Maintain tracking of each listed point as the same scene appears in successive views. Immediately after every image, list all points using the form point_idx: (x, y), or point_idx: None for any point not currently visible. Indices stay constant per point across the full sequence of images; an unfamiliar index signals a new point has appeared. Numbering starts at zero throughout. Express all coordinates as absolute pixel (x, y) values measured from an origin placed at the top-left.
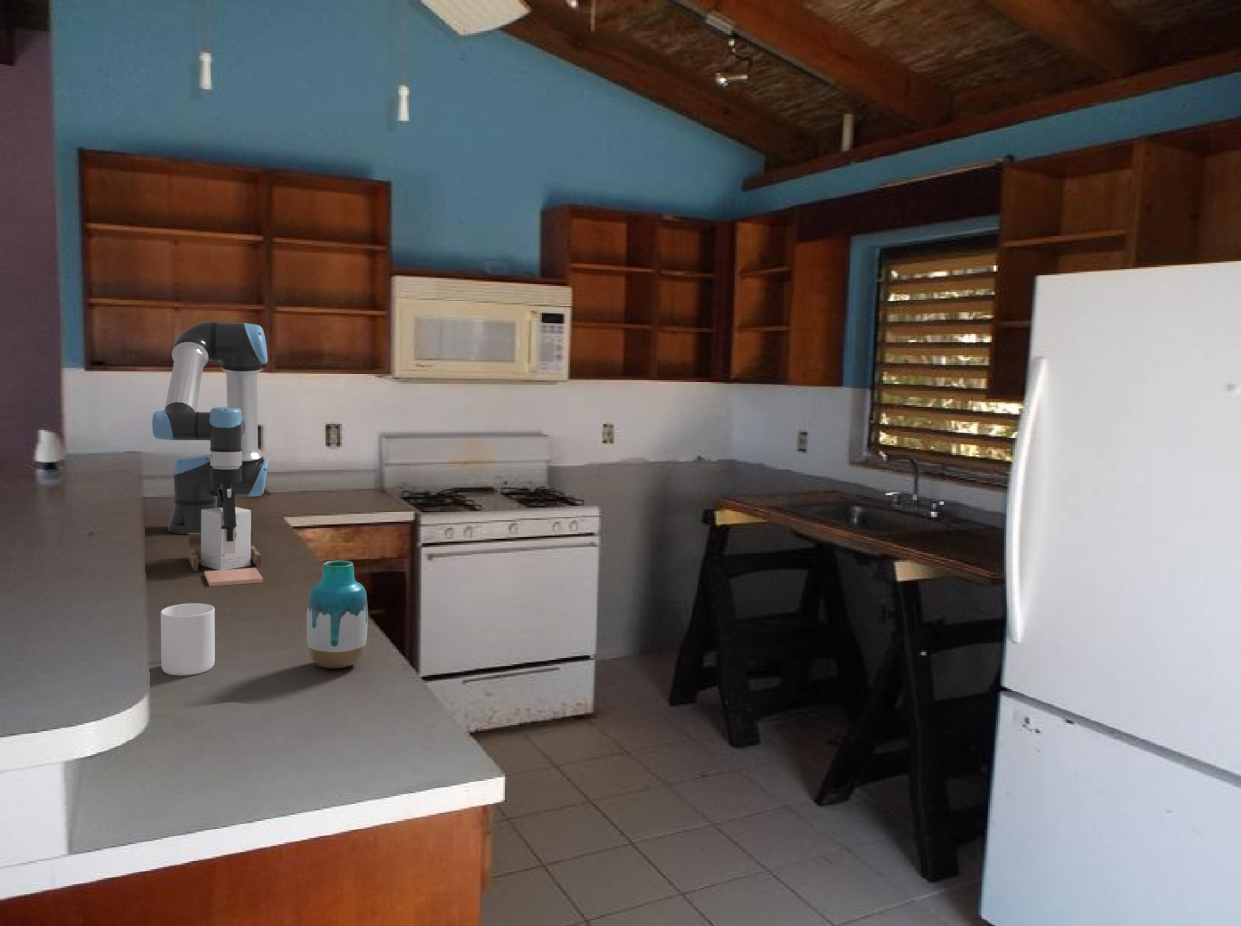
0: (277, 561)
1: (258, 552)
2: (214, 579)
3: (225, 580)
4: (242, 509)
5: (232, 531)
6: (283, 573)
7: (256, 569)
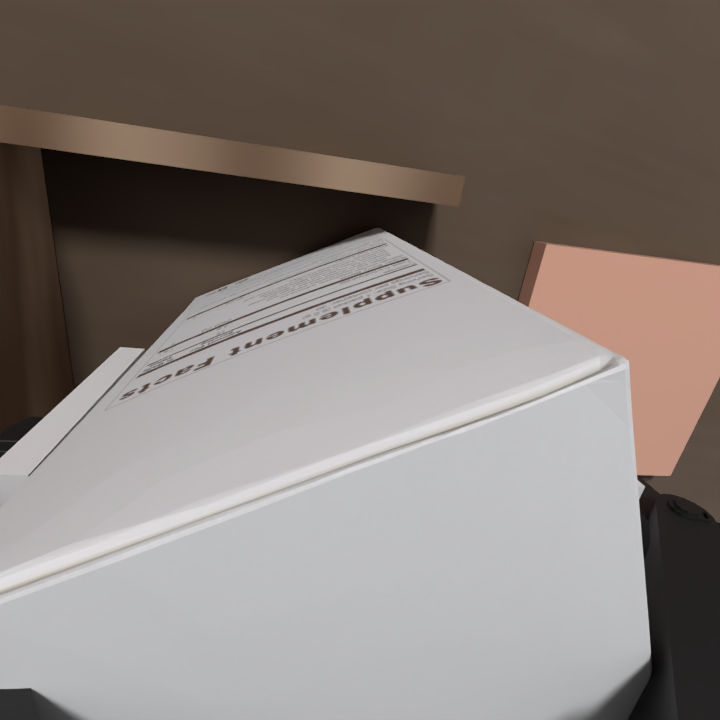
0: (324, 4)
1: (349, 160)
2: (641, 455)
3: (686, 422)
4: (481, 510)
5: (655, 496)
6: (663, 102)
7: (585, 251)
